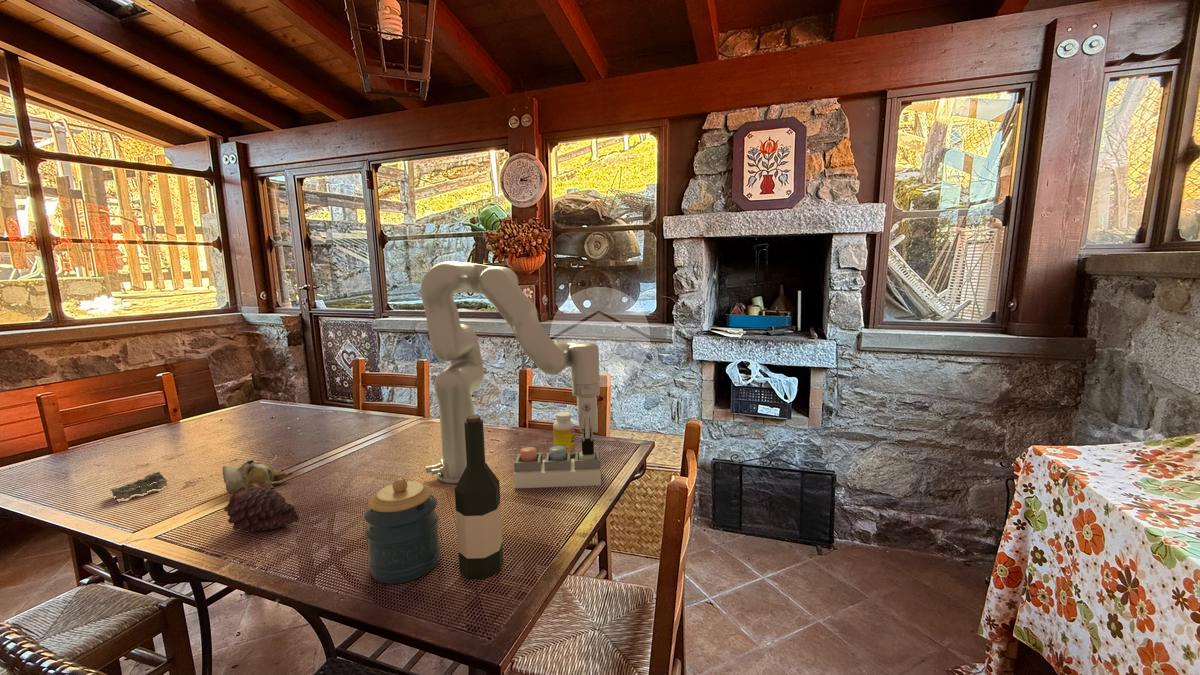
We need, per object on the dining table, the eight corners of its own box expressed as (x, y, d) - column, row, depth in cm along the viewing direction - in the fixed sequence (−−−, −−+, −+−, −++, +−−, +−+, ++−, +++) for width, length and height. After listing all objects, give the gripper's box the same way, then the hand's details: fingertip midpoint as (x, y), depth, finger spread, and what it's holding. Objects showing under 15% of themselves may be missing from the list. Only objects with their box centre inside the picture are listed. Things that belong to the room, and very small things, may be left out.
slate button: (549, 462, 127) (549, 452, 126) (550, 456, 131) (550, 446, 131) (565, 462, 127) (565, 451, 126) (566, 456, 131) (566, 445, 131)
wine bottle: (457, 560, 94) (447, 414, 90) (499, 549, 97) (491, 408, 93) (462, 584, 86) (452, 426, 82) (507, 572, 89) (500, 419, 85)
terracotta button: (519, 463, 126) (519, 453, 126) (521, 457, 131) (521, 447, 130) (536, 463, 126) (535, 452, 126) (537, 457, 131) (537, 446, 130)
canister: (401, 541, 101) (395, 462, 98) (454, 550, 97) (448, 469, 94) (353, 579, 88) (345, 490, 86) (411, 591, 84) (404, 498, 82)
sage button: (579, 467, 127) (579, 457, 127) (579, 461, 131) (579, 450, 131) (595, 467, 127) (595, 456, 127) (595, 460, 132) (594, 450, 131)
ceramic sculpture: (235, 453, 130) (293, 452, 132) (237, 482, 131) (294, 481, 133) (208, 469, 120) (272, 468, 122) (211, 501, 121) (274, 499, 123)
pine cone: (315, 513, 113) (305, 490, 107) (285, 552, 106) (273, 530, 99) (248, 492, 115) (234, 469, 108) (213, 530, 107) (197, 506, 101)
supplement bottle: (574, 457, 145) (573, 417, 144) (552, 457, 145) (551, 417, 144) (575, 449, 152) (574, 410, 150) (555, 449, 152) (554, 411, 150)
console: (514, 488, 125) (513, 465, 124) (518, 474, 134) (517, 452, 133) (601, 485, 126) (600, 461, 125) (599, 471, 134) (599, 449, 134)
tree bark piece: (163, 483, 133) (161, 470, 132) (169, 490, 128) (168, 476, 128) (111, 497, 125) (109, 483, 124) (116, 505, 120) (113, 490, 120)
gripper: (601, 395, 119) (603, 464, 122) (598, 381, 134) (600, 443, 136) (571, 396, 119) (574, 465, 121) (572, 382, 134) (574, 444, 136)
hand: (588, 453), depth 129 cm, fingers closed
